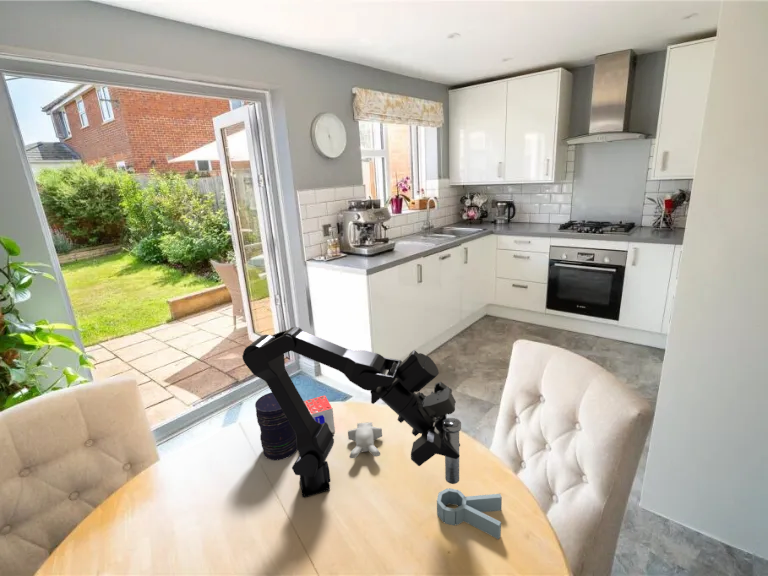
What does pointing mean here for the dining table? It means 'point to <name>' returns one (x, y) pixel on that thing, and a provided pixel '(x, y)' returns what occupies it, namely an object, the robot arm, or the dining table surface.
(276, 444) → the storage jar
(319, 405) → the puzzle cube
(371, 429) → the grey figurine
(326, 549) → the dining table surface
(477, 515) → the grey ring with prongs
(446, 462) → the hinge pin
